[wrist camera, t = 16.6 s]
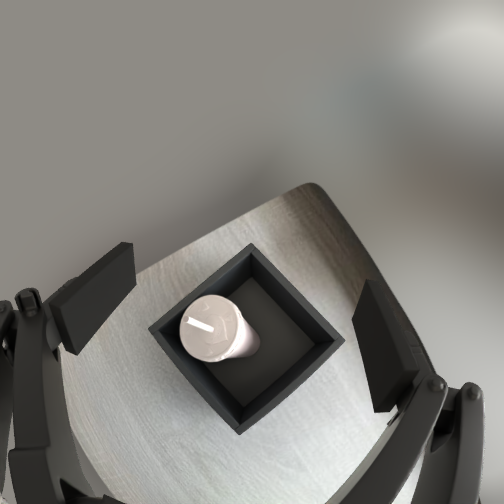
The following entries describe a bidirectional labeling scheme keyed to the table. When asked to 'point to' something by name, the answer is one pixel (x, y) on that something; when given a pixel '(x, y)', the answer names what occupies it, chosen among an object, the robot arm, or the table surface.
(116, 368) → the table surface
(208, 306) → the smoothie
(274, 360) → the bin
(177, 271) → the table surface
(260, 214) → the table surface
